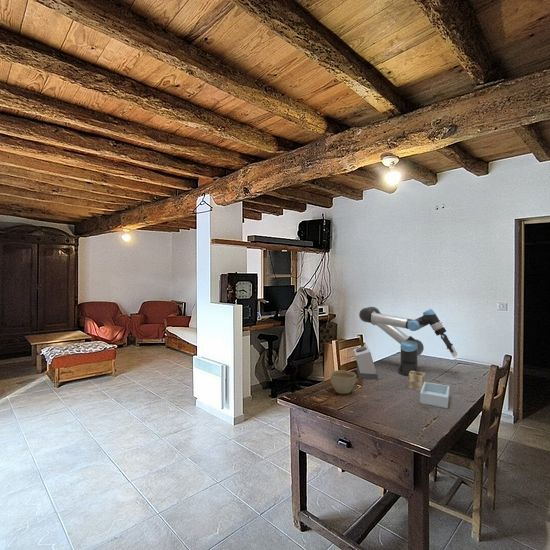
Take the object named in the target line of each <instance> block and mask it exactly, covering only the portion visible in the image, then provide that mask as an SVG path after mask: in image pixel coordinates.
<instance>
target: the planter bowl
mask: <svg viewBox="0 0 550 550" xmlns="http://www.w3.org/2000/svg"><path fill="white" fill-rule="evenodd" d="M329 378H330V382H331V384H332V386H333V388H334V390H335V392H336V393H338V394H344V395H345V394H346V395H347V394H350V393H351V392H352V390H353V388H354V386H355V384H356V378H357V373H355V372H353V371H348V370H333V371H331V372H330V373H329Z"/></svg>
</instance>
